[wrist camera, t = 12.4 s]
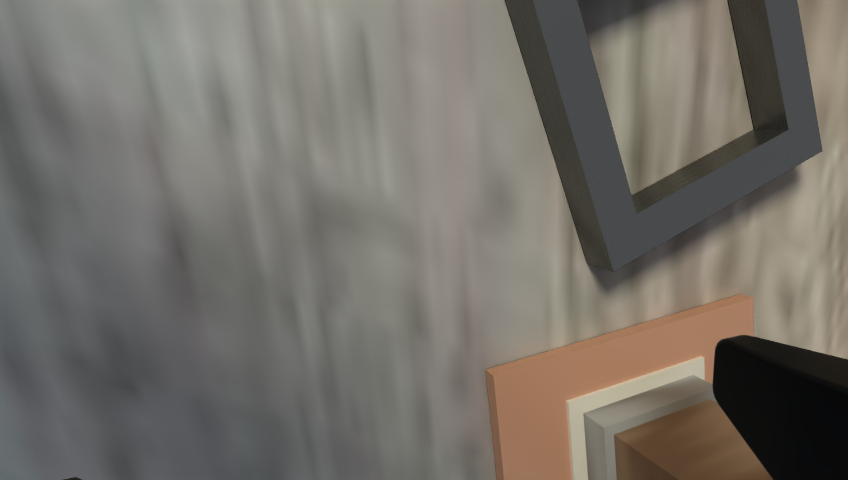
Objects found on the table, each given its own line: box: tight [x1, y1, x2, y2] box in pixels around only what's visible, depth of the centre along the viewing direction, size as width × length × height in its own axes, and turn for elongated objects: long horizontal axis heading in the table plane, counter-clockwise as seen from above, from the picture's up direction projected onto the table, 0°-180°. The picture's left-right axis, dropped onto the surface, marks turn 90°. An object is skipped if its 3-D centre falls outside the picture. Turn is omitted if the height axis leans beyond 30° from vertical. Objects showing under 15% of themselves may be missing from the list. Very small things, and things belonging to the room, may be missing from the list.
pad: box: [486, 294, 754, 480], centre depth 25 cm, size 12×10×1 cm
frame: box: [505, 0, 822, 272], centre depth 22 cm, size 10×10×2 cm
